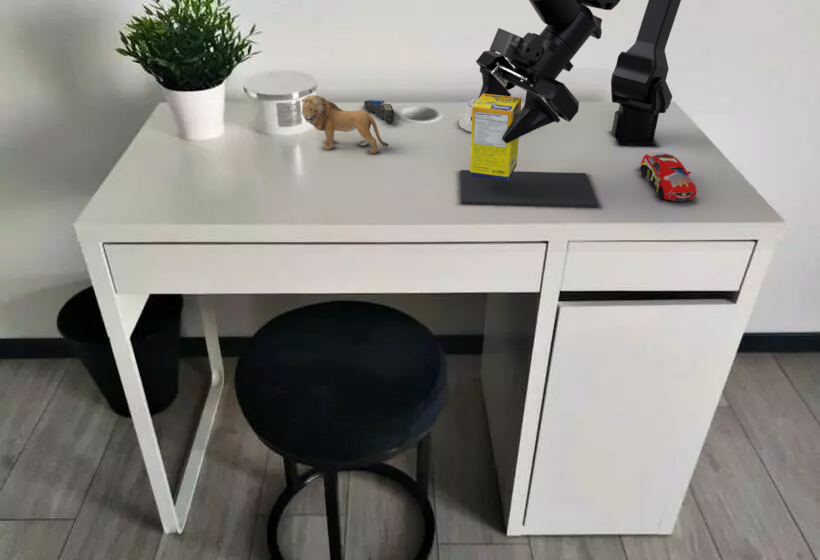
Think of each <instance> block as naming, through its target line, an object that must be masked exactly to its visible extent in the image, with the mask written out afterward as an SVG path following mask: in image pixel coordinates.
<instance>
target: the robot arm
mask: <svg viewBox="0 0 820 560" xmlns="http://www.w3.org/2000/svg"><path fill="white" fill-rule="evenodd" d="M528 1H529V3H530V5H531V6H532V8H533V9H534V11H535V12H536V14H537V15H538V18H539V19H540V20H541V22H543V24H544V25H546V26H545V27H544V29H542V31H541V32H540V34H538V33H535V32H533V33H532V32H527V33H526V34H525V35H524V36H523V37H522V36H519V35H517V34H515V33H512V32H510V31H507V30H505V29H502V28H500V27H498V28H497V30H496V33H495V35H494V38H493V40H492V41H491V44H490V47H489V50H484V51H483V52H482V53H481V54H480V55H479V56H478V58H477V59H476V61H475V63H476V64H477V65H478V66H479V73H480V74H481V77H482V78H481V79H482V85H481V89H480V92H479V96H478V97H477V98H478V99H479V98H480V97H481V95H482V94H483V93H484V94H492V95H502V96H511V97H512V94H511V92H510V91H509V90H512V89H514V88H515V87H518V88H520V89H522V90H524V91H526V94H525V100H524V105H523V107H521V111H520V112H519V114H518V115H517V117H516V118H515V119H514V121H513V122H512V123H511V125H510V126H509V128H508V129H507V131H506V132H505V134H504V135H503V137H502V140H503V141H504V142H505V143H509V142H511V141H513V140H515V139H517V138H519V139H520V138H521V137H523V136H525V135H528V134H529V133H531V132H533V131H536V130H538V129H540V128H542V127H545V126H547V125H550V124H553V123H557V124H558V123H560V122H561V119H562V120H564V121H566V122H568V123H570V122H571V121H572V120H573V119H574V117H575V116H576V115H577V114H578V112H579V108H580V107H579V106H580V101H579V99H577V98H576V96H575V95H574V94H573V93H572V92H571V90H570V89H569V88H568V87H567V85H565V83H564V82H562V81H559V80H558V79H557V78H558V77H559V76H560V74H561V73H562V72H563V70H564V71H567V72H571V70H572V69H573V68H574V64H573V63H572V62H571V60H572V59H573V58H574V57H575V56H576V54H577V53H578V52H579V51H580V49H581V48H582V47H583V46H584V44H585V43H586V41H587V40H589V38H590V37H592V38H594V39H596V40H599V39H601V37H602V33H603V30H602V29H603V28H602V23H603V19H602V18H601V17H599V16H596V15H594V14H593V11H592V10H591V9H590V8H594V9H599V10H604V11H611V10H613V9H614V8H616V7H617V6H618V5H619V3H620V2H621V0H528ZM681 2H682V0H648V1H647V5H646V8H645V11H644V13H643V17H642V20H641V23H640V27H639V30H638V32H637V36H636V39H635V42H634V44H633V45H632V46H631V47H629V49H627V50H626V51H621V52H620V53H619V54H618V55H617V60H616V64H615V66H614V70H613V72H612V74H611V78H610V91H611V92H610V93H611V94H610V95H611V102H612V103H614V104H618V110H615V112H614V115H613V116H614V117H613V121H612V128H611V134H612V136H613V137H614V139H615V140H616V143H617V145H619V146H642V147H643V146H645V147H646V146H647V147H655V146H657V142H656V139H655V136H656V129H657V126H658V125H657V124H658V120H659V115H660V114H665V113H666V112H667V110H668V109H669V107H670V105H671V102H672V99H673V95H672V92H671V90H670V87H669V85H668V83H667V77H668V74H669V70H670V68H669V64H668V59H667V53H666V47H667V44H668V41H669V38H670V35H671V32H672V28H673V27H674V23H675V20H676V16H677V14H678V11H679V8H680V6H681ZM471 121H472V117H471Z"/></svg>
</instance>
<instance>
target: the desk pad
mask: <svg viewBox="0 0 820 560" xmlns="http://www.w3.org/2000/svg"><path fill="white" fill-rule="evenodd" d="M459 174H460V202H461V203H460V204H461V205H486V206H487V205H489V206H490V205H491V206H523V207H524V206H526V207H562V208H563V207H564V208H598V207H599V203H598V201H597V197H596V196H595V193H594V191H593V188H592V185H591V183H590V180H589V177H588V175H587V173H586V172H555V171H552V172H551V171H547V172H546V171H517V170H516V171H515V170H514V171H513V173H512V175H511V177H510V179H509V180H508V181H502V180H495V179H487V178H480V177H471V176H470V169H460V172H459Z"/></svg>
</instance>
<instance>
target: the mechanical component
mask: <svg viewBox="0 0 820 560" xmlns="http://www.w3.org/2000/svg"><path fill="white" fill-rule="evenodd" d="M478 98H479V97H476V98H471V100H467V101H466V110H465V112H462V113H461V114H460V115H459V116H458V124H459V127H460V128H462V129H463V130H465V131H467V132H469V133H471V129H472V121H471V117H472V107H473V105H474V104H475V103H476V102H477V100H478Z"/></svg>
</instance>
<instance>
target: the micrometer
mask: <svg viewBox="0 0 820 560" xmlns="http://www.w3.org/2000/svg"><path fill="white" fill-rule="evenodd" d="M363 107H364V109H365V110H366V112H372V113H374V114H375V116H376V117H377V118H380V119H381V120H384V122H385V123H386V124H392V123H393V122H394V117H395V110H394V107H393V106H392V104H390V103H385V101H384V100H377V99H369V100H364V102H363Z"/></svg>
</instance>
